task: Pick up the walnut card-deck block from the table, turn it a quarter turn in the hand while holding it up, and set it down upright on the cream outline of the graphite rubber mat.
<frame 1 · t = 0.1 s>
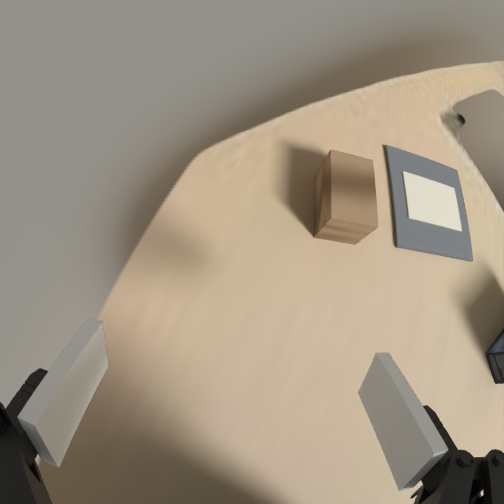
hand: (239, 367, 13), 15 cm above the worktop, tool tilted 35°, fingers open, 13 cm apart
mat: (431, 203, 36), on the worktop
deck block: (335, 209, 34), on the worktop
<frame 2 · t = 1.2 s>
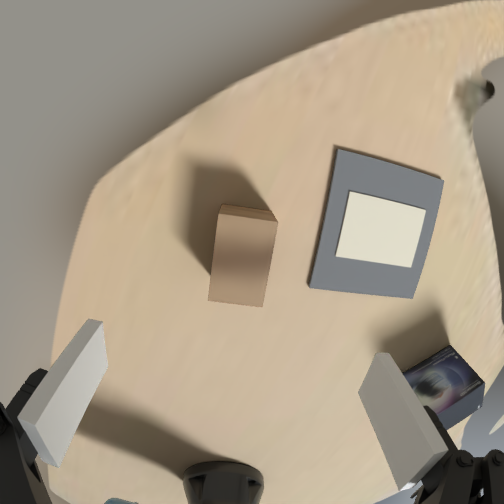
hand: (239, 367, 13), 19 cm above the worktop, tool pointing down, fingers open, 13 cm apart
mat: (381, 230, 32), on the worktop
small box: (424, 371, 39), on the worktop
deck block: (240, 245, 32), on the worktop
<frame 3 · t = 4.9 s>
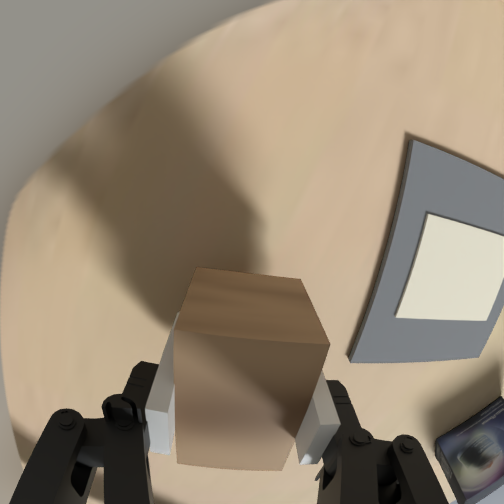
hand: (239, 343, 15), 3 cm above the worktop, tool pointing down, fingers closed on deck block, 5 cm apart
mat: (459, 272, 18), on the worktop
small box: (468, 426, 26), on the worktop
deck block: (238, 342, 16), point 3 cm above the worktop, touching gripper
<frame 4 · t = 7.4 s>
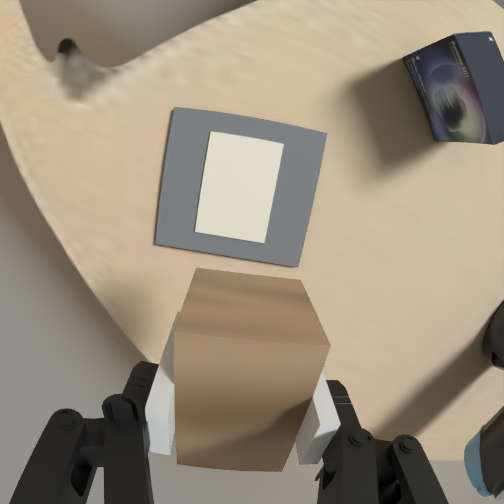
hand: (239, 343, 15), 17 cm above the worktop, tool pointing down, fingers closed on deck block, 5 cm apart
mat: (238, 187, 29), on the worktop
small box: (435, 94, 27), on the worktop
deck block: (239, 343, 16), point 17 cm above the worktop, touching gripper
when the fingers open (2 cm above the worktop, at t = 10.1 s): deck block stays where it is, resting on mat.
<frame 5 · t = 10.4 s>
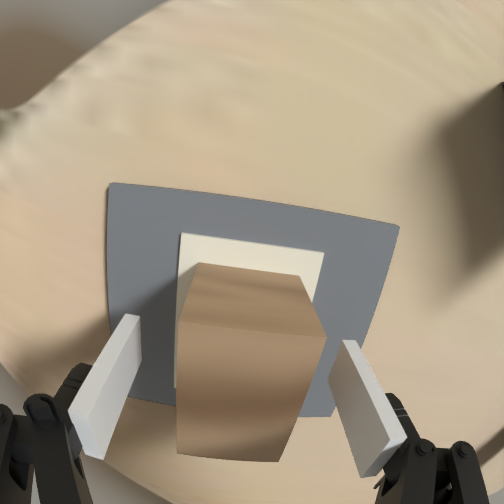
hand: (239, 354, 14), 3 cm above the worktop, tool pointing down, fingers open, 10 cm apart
mat: (239, 325, 17), on the worktop
deck block: (238, 336, 16), point 1 cm above the worktop, touching mat
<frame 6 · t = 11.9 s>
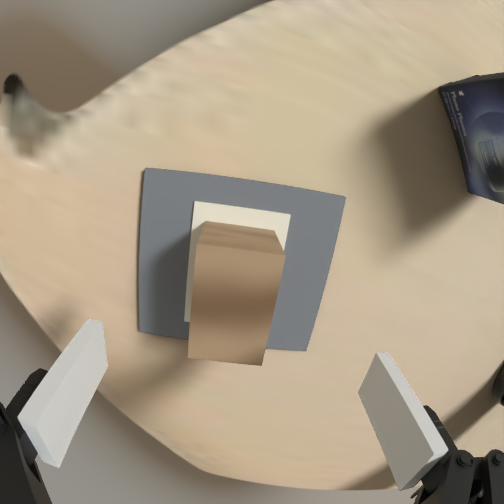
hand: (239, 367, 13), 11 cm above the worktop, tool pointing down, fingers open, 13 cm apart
mat: (233, 268, 24), on the worktop
small box: (472, 133, 21), on the worktop
deck block: (232, 275, 23), point 1 cm above the worktop, touching mat
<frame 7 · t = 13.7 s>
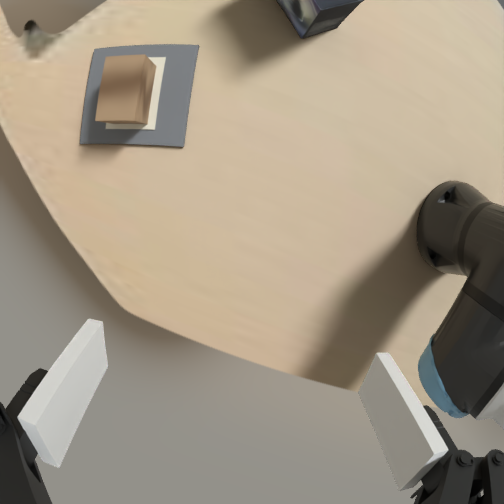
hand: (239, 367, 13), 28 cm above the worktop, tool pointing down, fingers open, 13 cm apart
mat: (135, 93, 34), on the worktop
small box: (300, 5, 31), on the worktop
deck block: (133, 94, 33), point 1 cm above the worktop, touching mat
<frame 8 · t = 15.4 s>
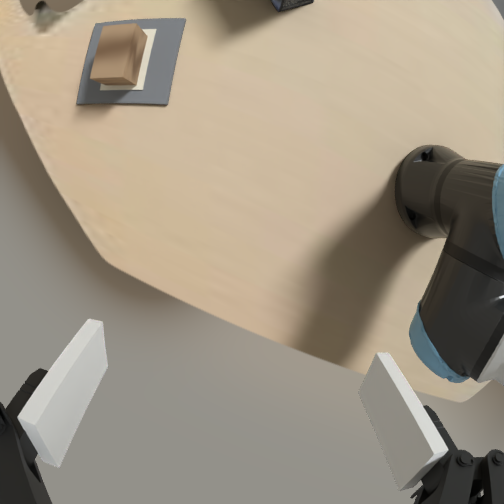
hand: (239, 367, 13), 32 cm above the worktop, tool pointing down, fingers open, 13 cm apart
mat: (128, 59, 35), on the worktop
deck block: (126, 60, 34), point 1 cm above the worktop, touching mat
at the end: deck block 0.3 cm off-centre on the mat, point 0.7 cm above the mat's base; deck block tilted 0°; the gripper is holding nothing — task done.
